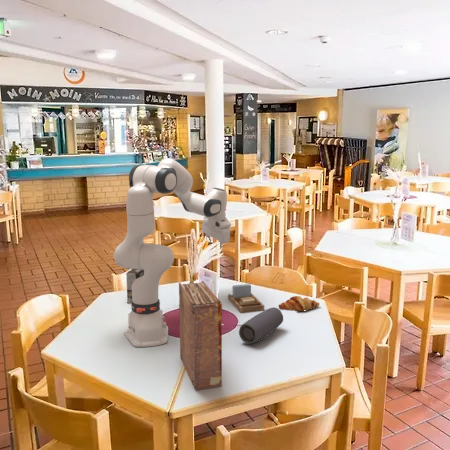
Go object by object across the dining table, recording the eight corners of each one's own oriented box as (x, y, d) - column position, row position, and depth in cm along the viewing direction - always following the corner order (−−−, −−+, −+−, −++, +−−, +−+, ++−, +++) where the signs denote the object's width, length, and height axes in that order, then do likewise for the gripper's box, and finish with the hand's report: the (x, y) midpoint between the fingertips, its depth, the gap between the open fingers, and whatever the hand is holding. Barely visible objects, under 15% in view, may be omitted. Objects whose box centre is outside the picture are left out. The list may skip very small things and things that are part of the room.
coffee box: (139, 304, 235) (137, 273, 232) (127, 303, 236) (125, 272, 233) (145, 298, 243) (144, 268, 240) (134, 297, 245) (132, 267, 242)
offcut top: (255, 303, 228) (255, 299, 228) (243, 304, 226) (243, 301, 226) (251, 300, 232) (251, 296, 232) (240, 301, 230) (240, 298, 230)
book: (180, 357, 179) (178, 282, 173) (203, 353, 182) (202, 279, 176) (195, 391, 155) (194, 305, 150) (221, 386, 158) (221, 302, 152)
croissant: (316, 311, 234) (313, 296, 236) (324, 309, 225) (322, 292, 227) (276, 314, 229) (274, 298, 231) (283, 312, 220) (281, 295, 222)
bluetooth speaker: (265, 325, 209) (266, 304, 207) (284, 330, 204) (284, 308, 202) (237, 343, 191) (237, 320, 189) (256, 349, 186) (257, 325, 184)
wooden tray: (264, 312, 224) (264, 305, 223) (240, 315, 220) (240, 308, 220) (250, 298, 243) (250, 292, 242) (228, 300, 239) (228, 294, 239)
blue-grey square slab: (250, 300, 237) (251, 285, 236) (234, 302, 235) (234, 287, 233) (249, 298, 239) (249, 283, 238) (232, 300, 237) (232, 285, 235)
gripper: (199, 214, 240) (197, 240, 244) (222, 225, 224) (220, 252, 228) (210, 213, 243) (207, 238, 247) (233, 224, 228) (230, 251, 232)
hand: (213, 245), depth 238 cm, fingers open, 8 cm apart
